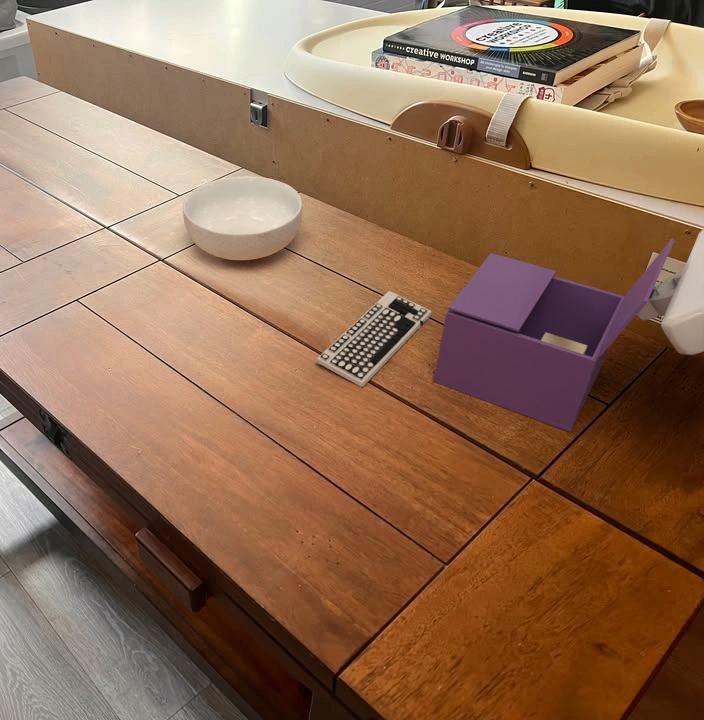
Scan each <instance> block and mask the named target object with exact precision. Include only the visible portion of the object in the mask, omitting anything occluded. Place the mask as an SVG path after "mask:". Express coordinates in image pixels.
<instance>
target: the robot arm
mask: <svg viewBox="0 0 704 720" xmlns="http://www.w3.org/2000/svg"><path fill="white" fill-rule="evenodd" d="M636 316H637V317H638V318H639V319H640V320H641V321H648V320H652V319H654V318H656V317H659V316H660V317H663V318H662V320H661V323H660V327H661V329H662V331H663V332H664V334H665V336H666V338H667V339H668V341H669V342H670V344H671V345H672V347H673V348H674V350H675V351H676V352H677V353H678V354H680V355H685V356H686V355H687V356H693V355H697V354H701V353H704V228H703V229H702V230H700V231H699V232H698V234H697V237H696V239H695V242H694V244H693V246H692V248H691V251H690V254H689V256H688V259H687V261H686V263H685V265H684V268H683V270H680V271H678V272H675V273H673V274H672V275H671V276H669V277H668V278H666V279H665V280H663V281H661V282H660V283H659V284H657V285H656V286H654V288H653V290H652V292H651V295H650V297H649V299H648V301H647V303H646V304H645V305H644V306H643V308H642V309H641V310H640V311H639V312H638V313H637V315H636Z"/></svg>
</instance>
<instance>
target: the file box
mask: <svg viewBox="0 0 704 720" xmlns="http://www.w3.org/2000/svg"><path fill="white" fill-rule="evenodd" d="M556 274H557V270H554V269H550V268H546V267H542V266H539V265H537V264H532V263H528V262H526V261H523V260H522V261H521V260H518V259H515V258H511V257H507V256H505V255H500V254H497V253H494V252H493V253H492V252H490V253H489V254H488V256H487V257H486V259H485V260H484V261H483V262H482V264H481V265H480V267H478V269H477V270H476V271H475V273H474V274H473V275H472V277H471V278H470V279H469V280H468V282H467V283H466V284H465V285H464V287H463V288H462V289H461V290H460V292H459V293H458V294H457V296H456V297H454V299H453V301H452V302H451V304H450V305H449V306H448V308H447V312H446V314H445V319H444V324H443V329H442V334H441V340H440V344H439V350H438V355H437V360H436V364H435V365H436V366H435V371H434V376H433V381H432V382H433V383H436V384H439V385H441V386H444V387H446V388H450V389H452V390H454V391H457V392H460V393H463V394H466V395H469V396H471V397H474V398H476V399H479V400H482V401H484V402H487V403H490V404H492V405H496V406H498V407H501V408H503V409H506V410H509V411H511V412H514V413H517V414H519V415H522V416H525V417H527V418H530V419H534V420H535V421H539V422H541V423H544V424H546V425H550V426H552V427H555V428H558V429H561V430H562V431H566V432H568V433H571V432H572V430H573V428H574V426H575V424H576V422H577V420H578V417H579V416H580V414H581V411H582V409H583V407H584V404H585V403H586V401H587V398H588V396H589V394H590V392H591V390H592V388H593V386H594V383H595V382H596V379H597V378H598V375H599V373H600V371H601V369H602V367H603V365H604V362H605V359H606V356H607V353H608V351H609V348H610V346H609V347H608V348H607V349H606V351H605V352H604V353H603V354H602V355H601V356H598V353H599V351H600V349H601V347H602V345H603V343H604V340H605V338H606V336H607V334H608V332H609V330H610V328H611V326H612V324H613V322H614V320H615V318H616V316H617V314H618V312H619V310H620V308H621V305H622V303H623V301H624V299H625V297H626V295H621V294H618V293H615V292H611V291H608V290H605V289H601V288H597V287H594V286H590V285H587V284H583V283H580V282H577V281H572V280H570V279H565V278H562V277H560V276H559V277H558V276H555V275H556ZM546 332H547V333H550V334H553V335H556V336H559V337H562V338H565V339H568V340H572V341H575V342H578V343H581V344H584V345H587V346H588V347H587V350H586V352H585V355H584V354H581V353H578V352H575V351H572V350H569V349H566V348H562V347H559V346H556V345H553V344H550V343H547V342H544V341H541V339H542V337H543V336H544V334H545V333H546Z"/></svg>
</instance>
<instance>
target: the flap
mask: <svg viewBox="0 0 704 720" xmlns="http://www.w3.org/2000/svg"><path fill="white" fill-rule="evenodd" d="M675 241H676V240H675V239H674V238H673V237H672V238H671V239H670V240H669V241H668V242H667V244H666V245H665V246H664V248H662V249H661V251H660V252H659V253H658V254H657V256H656V257H655V258H654V260H652V262H651V263H650V265H649V266H648V267H647V268H646V269H645V270H644V271H643V272H642V274H641V275H640V277H639V278H637V280H636V281H635V282H634V284H633V285H632V286H631V287H630V288H629V290H628V291H627V293H626V295H625V296H626V297H625V299H624V301H623V303H622V305H621V308H620V310H619V312H618V314H617V316H616V318H615V320H614V322H613V324H612V326H611V328H610V330H609V332H608V334H607V336H606V338H605V340H604V343H603V345H602V347H601V349H600V351H599V353H598V356H601V355H602V354H603V353H604V352H605V351H606V349H607V348H608V347H609V348H610V347H611V345H612V344H613V343H614V342H615V340H616V339H617V338H618V337H619V335H621V334H622V332H623V331H624V330H625V329H626V328H627V326H628V325H629V324H630V323H631V322H632V321H633V319H635V317H636V316H638V315H637V313H638V312H639V311H640V310H641V309H642V308H643V306H644V305H645V304H646V303H647V301H648V299H649V297H650V295H651V292H652V290H653V288H654V287H656V286H655V285H656V283H657V281H658V279H659V277H660V274H661V272H662V270H663V268H664V265H665V263H666V261H667V258H668V256H669V254H670V252H671V249H672V248H673V245H674V243H675ZM609 348H608V349H609Z"/></svg>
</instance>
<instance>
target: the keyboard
mask: <svg viewBox="0 0 704 720" xmlns="http://www.w3.org/2000/svg"><path fill="white" fill-rule="evenodd" d="M432 316H433V311H432V310H430V309H428V308H427V307H424V306H422V305H420V304H417V303H415V302H413V301H411V300H410V299H408V298H405V297H403V296H401V295H399V294H397V293H395V292H393V291H390V290H388V291H387V292H386V293H385V294H384V295H383V296H381V298H380V299H379V300H377V301H376V302H375V303H373V305H372V306H371V307H370V308H368V310H367V311H365V313H364V314H362V316H360V317H359V318H358V319H357V320H356V321H355V322H354V323H353V324H352V325H351V326H350V327H349V328H348V329H347V330H346V331H344V332H343V334H341V335H340V336H339V337H338V338H337V339H336V340H335V341H333V343H331V345H329V347H327V348H326V349H325V350H324V351H323V352H322V353H321V354H320V355H319V356H317V358H316V361H315V362H316V363H317V364H319V365H321V366H323V367H324V368H326V369H328V370H330V371H331V372H334V373H335V374H337V375H339V376H340V377H342V378H344V379H346V380H348V381H350V382H351V383H353V384H355V385H357V386H359V387H360V388H362V389H363V388H365V387H366V385H367V384H368V383H369V382H370V381H371V380H372V379H373V378H374V377H375V376H376V375H377V373H379V372H380V371H381V369H383V367H384V366H385V365H386V364H387V363H388V362H389V361H390V360H391V359H392V358H393V357H394V356H395V355H396V354H397V353H398V352H399V350H401V349H402V348H403V347H404V345H405V344H407V342H408V341H409V340H410V339H411V338H412V337H413V336H414V335H415V334H416V333H417V332H418V331H419V329H421V327H423V325H424V324H425V323H426V322H427V321H428V320H429V319H430V318H431V317H432Z"/></svg>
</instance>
